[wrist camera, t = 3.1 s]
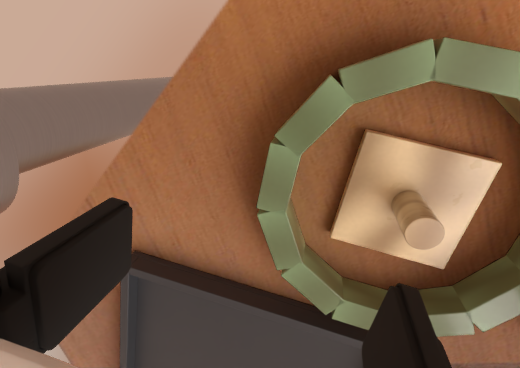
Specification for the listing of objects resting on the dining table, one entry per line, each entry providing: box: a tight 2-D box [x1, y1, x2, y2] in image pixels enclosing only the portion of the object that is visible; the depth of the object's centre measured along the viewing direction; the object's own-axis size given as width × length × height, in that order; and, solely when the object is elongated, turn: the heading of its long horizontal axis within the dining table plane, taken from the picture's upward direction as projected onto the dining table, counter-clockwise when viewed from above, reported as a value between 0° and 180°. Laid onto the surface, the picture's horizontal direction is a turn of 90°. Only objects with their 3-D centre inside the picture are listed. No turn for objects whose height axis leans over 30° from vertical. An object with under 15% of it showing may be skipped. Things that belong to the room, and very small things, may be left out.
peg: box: [330, 129, 502, 269], centre depth 18 cm, size 8×8×5 cm
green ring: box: [256, 37, 520, 337], centre depth 19 cm, size 19×19×3 cm
